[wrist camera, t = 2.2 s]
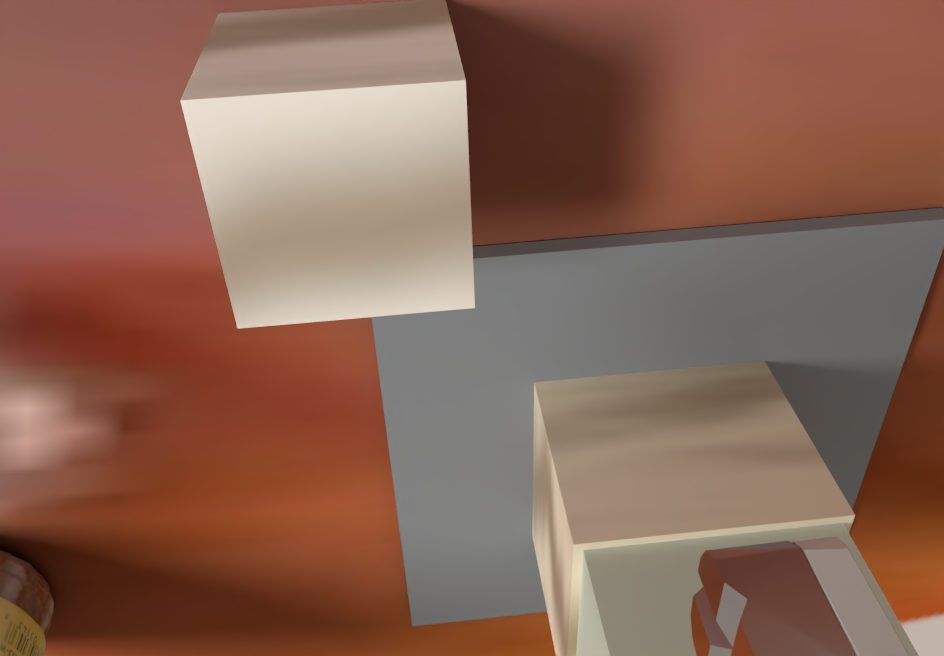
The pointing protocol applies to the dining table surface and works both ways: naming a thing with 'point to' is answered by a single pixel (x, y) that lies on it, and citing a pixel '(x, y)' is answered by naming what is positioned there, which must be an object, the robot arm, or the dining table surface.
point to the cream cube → (335, 161)
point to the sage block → (671, 591)
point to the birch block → (665, 469)
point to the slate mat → (630, 368)
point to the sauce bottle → (23, 608)
